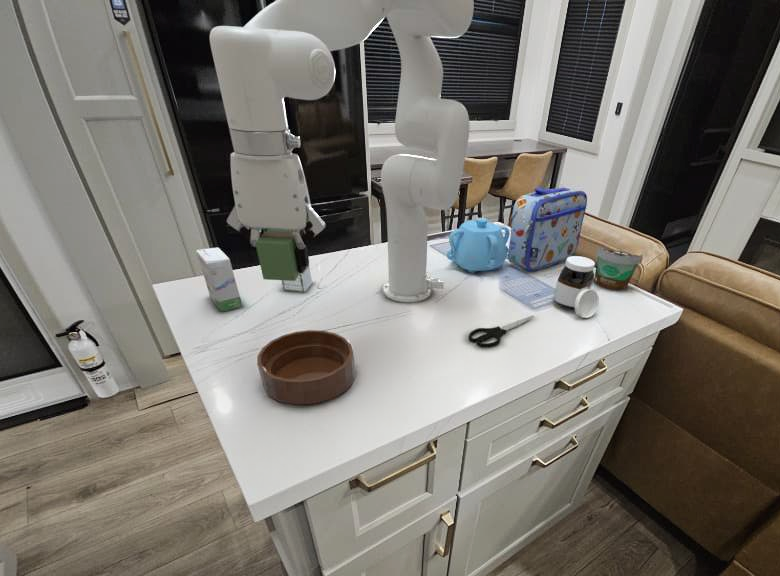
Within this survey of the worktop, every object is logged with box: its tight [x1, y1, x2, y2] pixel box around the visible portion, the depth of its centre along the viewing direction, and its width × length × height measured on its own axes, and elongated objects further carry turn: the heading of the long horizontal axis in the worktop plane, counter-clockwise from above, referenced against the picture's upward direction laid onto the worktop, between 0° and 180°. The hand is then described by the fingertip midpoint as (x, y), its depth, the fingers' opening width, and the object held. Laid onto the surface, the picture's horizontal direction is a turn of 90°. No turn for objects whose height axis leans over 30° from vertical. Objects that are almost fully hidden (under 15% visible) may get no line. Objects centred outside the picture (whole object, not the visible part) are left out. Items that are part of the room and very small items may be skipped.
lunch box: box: [507, 187, 588, 272], centre depth 123 cm, size 28×10×22 cm, turn 133°
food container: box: [593, 245, 644, 291], centre depth 115 cm, size 12×6×10 cm, turn 68°
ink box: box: [195, 247, 244, 313], centre depth 94 cm, size 8×5×12 cm, turn 39°
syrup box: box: [281, 264, 313, 293], centre depth 102 cm, size 6×6×14 cm
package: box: [255, 229, 300, 281], centre depth 67 cm, size 5×7×6 cm
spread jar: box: [553, 255, 600, 319], centre depth 103 cm, size 12×11×12 cm
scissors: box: [467, 315, 534, 349], centre depth 95 cm, size 7×1×20 cm
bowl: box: [256, 329, 356, 405], centre depth 76 cm, size 16×16×6 cm
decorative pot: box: [446, 217, 511, 274], centre depth 121 cm, size 16×16×14 cm
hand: (285, 267), depth 69 cm, fingers closed on package, 5 cm apart
